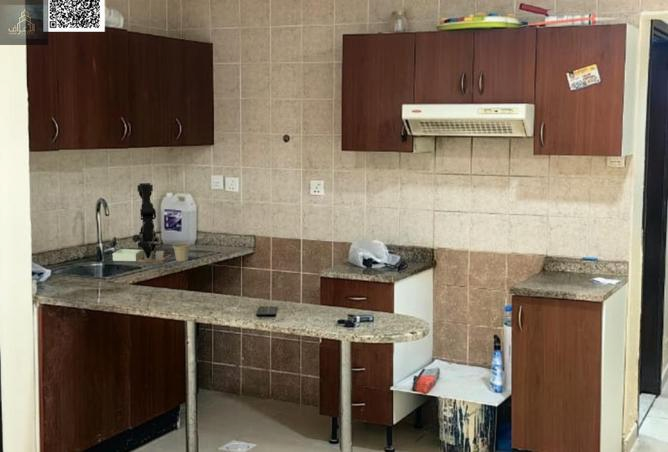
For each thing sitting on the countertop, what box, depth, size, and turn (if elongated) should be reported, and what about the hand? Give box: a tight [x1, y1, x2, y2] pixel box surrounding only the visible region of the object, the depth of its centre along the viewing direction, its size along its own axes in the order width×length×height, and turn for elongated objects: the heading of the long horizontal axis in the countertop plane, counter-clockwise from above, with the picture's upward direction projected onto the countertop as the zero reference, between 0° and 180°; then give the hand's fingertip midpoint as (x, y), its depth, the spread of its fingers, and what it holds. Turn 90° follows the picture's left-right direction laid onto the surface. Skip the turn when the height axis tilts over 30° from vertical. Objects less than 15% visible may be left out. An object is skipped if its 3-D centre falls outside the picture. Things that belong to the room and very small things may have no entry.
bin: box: [112, 248, 144, 262], centre depth 540 cm, size 13×13×5 cm
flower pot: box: [172, 243, 191, 262], centre depth 534 cm, size 9×9×9 cm
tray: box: [136, 253, 173, 263], centre depth 539 cm, size 17×14×2 cm
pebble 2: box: [154, 250, 165, 259], centre depth 538 cm, size 4×4×4 cm
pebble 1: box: [144, 251, 155, 259], centre depth 539 cm, size 4×4×4 cm
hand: (149, 257), depth 539 cm, fingers closed on pebble 1, 4 cm apart
